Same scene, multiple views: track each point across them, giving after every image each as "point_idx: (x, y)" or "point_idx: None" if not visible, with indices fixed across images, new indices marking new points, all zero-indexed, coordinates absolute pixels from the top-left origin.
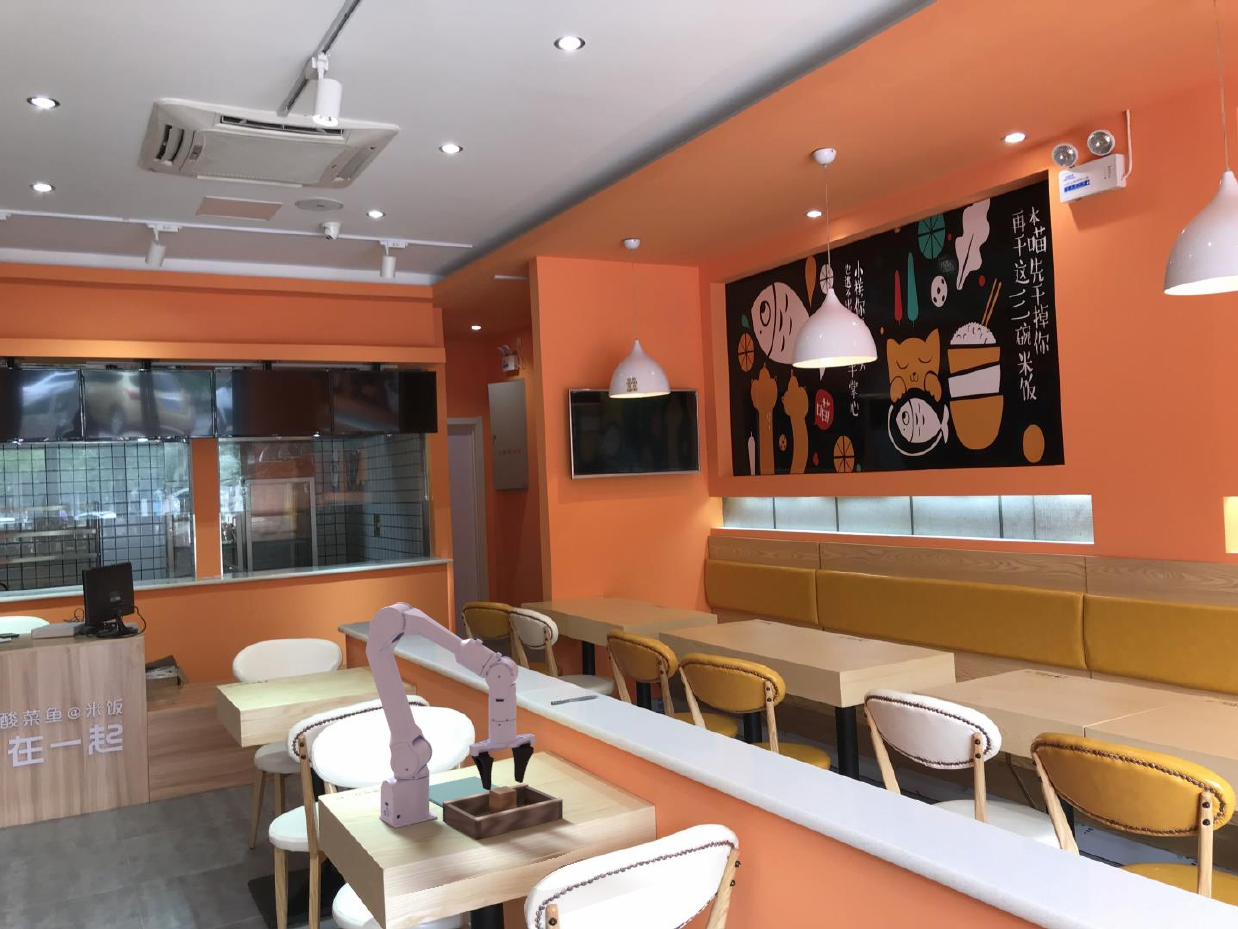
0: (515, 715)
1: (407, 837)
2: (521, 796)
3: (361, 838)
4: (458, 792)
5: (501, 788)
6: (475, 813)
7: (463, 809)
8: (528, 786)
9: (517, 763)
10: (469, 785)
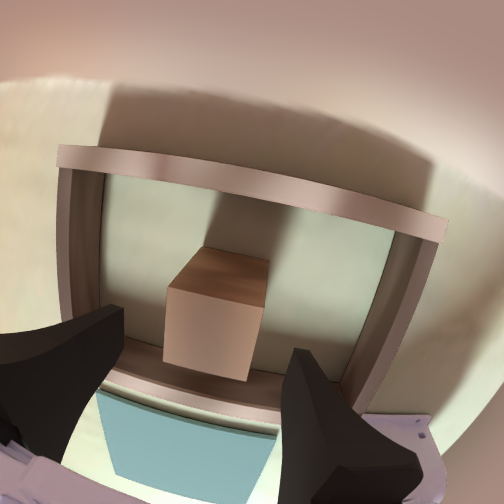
0: None
1: (462, 363)
2: None
3: (483, 405)
4: (189, 465)
5: (198, 356)
6: (257, 373)
7: None
8: None
9: (77, 385)
10: (148, 466)
